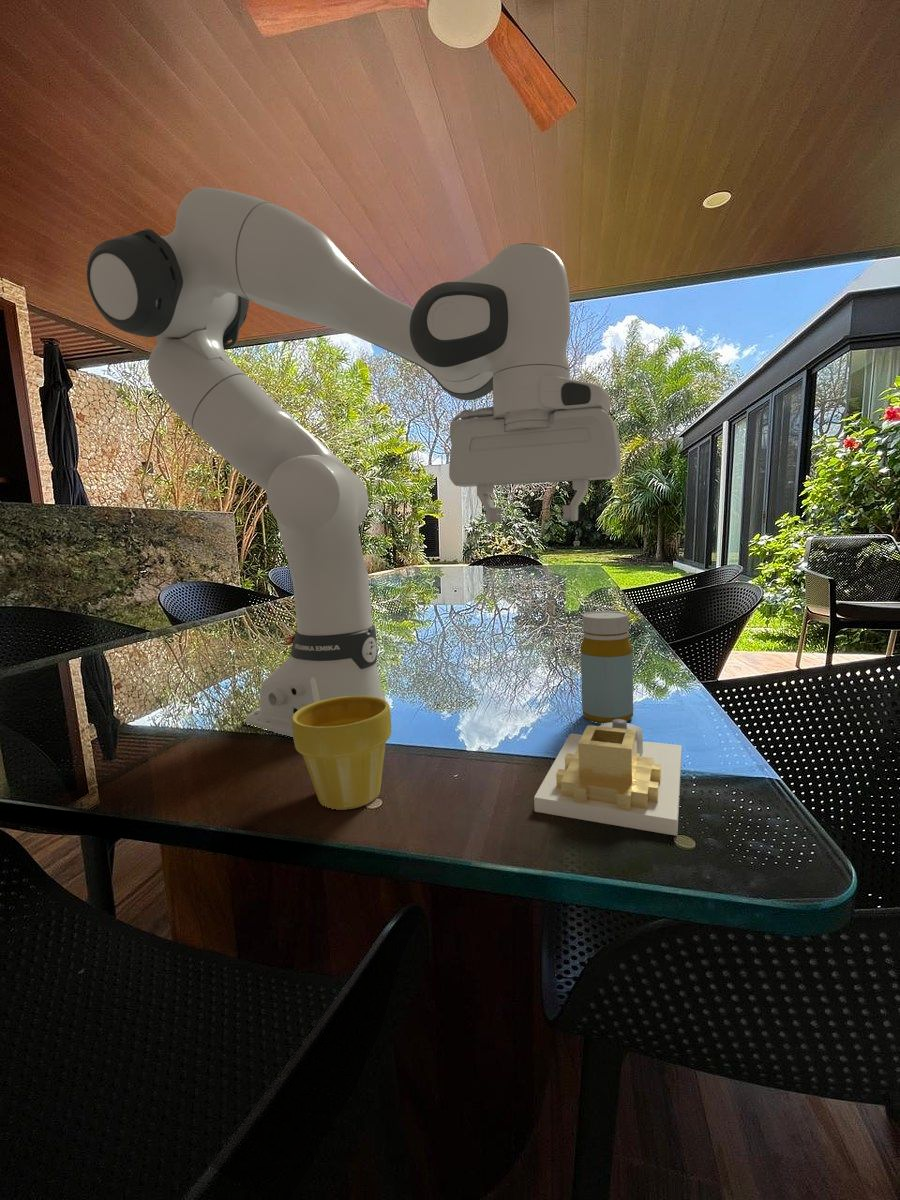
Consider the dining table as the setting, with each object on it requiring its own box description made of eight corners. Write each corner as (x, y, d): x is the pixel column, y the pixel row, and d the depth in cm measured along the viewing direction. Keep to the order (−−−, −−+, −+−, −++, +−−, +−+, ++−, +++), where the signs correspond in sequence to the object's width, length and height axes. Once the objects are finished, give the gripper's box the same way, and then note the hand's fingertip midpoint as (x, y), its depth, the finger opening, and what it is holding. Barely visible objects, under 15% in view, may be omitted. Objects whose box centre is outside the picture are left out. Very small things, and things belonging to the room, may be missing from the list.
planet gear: (551, 798, 52) (549, 749, 52) (571, 758, 61) (570, 715, 60) (656, 815, 48) (655, 762, 48) (662, 769, 57) (661, 724, 56)
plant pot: (302, 781, 62) (294, 700, 61) (390, 767, 65) (384, 689, 63) (297, 828, 52) (287, 733, 51) (402, 810, 55) (395, 718, 53)
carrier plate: (534, 811, 53) (532, 763, 52) (570, 744, 68) (569, 706, 68) (677, 835, 48) (677, 782, 47) (681, 757, 63) (681, 716, 62)
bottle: (636, 727, 73) (635, 618, 71) (583, 726, 74) (580, 619, 72) (629, 709, 80) (628, 609, 78) (581, 708, 81) (578, 611, 79)
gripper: (438, 407, 64) (441, 523, 66) (616, 384, 55) (614, 519, 57) (460, 416, 70) (462, 523, 72) (624, 397, 61) (621, 519, 63)
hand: (531, 521), depth 64 cm, fingers open, 8 cm apart
